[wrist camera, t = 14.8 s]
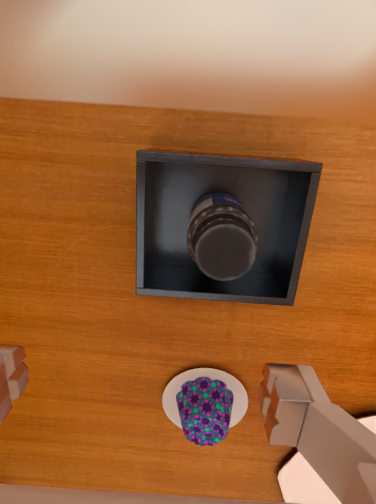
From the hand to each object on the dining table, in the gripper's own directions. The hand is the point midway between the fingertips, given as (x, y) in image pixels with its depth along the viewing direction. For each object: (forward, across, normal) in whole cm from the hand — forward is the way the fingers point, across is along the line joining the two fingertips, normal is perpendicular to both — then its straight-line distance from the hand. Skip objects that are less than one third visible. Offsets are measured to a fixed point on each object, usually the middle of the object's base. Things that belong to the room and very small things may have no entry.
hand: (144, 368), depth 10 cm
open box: (+25, -4, +1) cm, 25 cm away
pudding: (+25, -5, +27) cm, 37 cm away
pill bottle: (+24, -4, +1) cm, 25 cm away
